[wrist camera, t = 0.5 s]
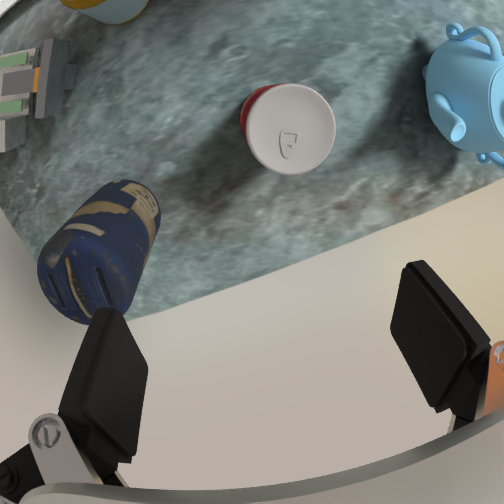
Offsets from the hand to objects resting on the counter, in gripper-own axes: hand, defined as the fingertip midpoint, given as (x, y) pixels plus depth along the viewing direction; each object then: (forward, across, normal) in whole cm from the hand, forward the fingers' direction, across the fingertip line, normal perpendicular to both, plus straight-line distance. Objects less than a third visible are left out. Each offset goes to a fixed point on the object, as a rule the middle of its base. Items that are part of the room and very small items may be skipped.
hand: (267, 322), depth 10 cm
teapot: (+29, -31, -7) cm, 43 cm away
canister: (+29, +15, +6) cm, 33 cm away
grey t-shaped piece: (+27, +22, -14) cm, 38 cm away
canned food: (+29, -5, -3) cm, 30 cm away
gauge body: (+29, +29, -14) cm, 43 cm away
